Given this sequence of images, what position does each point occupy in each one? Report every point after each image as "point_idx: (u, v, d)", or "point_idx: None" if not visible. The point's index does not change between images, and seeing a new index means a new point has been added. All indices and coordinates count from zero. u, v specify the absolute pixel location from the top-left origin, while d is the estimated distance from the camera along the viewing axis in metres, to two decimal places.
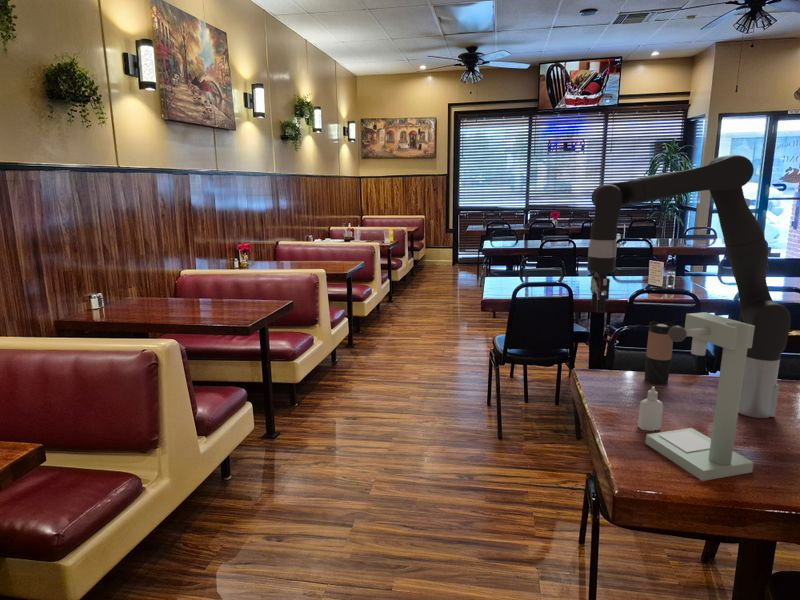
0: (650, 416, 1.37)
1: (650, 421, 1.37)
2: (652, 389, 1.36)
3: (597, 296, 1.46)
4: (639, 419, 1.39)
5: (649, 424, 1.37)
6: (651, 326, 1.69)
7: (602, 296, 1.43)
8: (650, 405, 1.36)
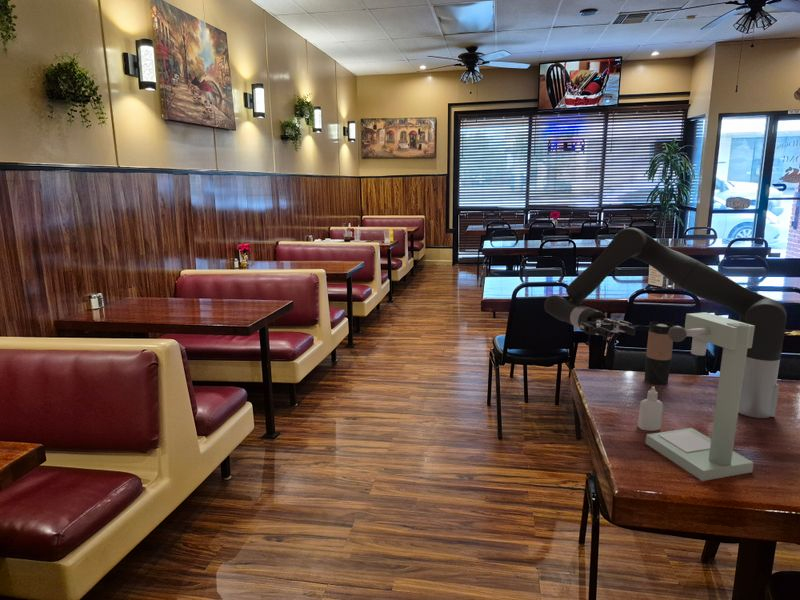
0: (650, 416, 1.37)
1: (650, 421, 1.37)
2: (652, 389, 1.36)
3: None
4: (639, 419, 1.39)
5: (649, 424, 1.37)
6: (651, 326, 1.69)
7: (588, 331, 1.49)
8: (650, 405, 1.36)
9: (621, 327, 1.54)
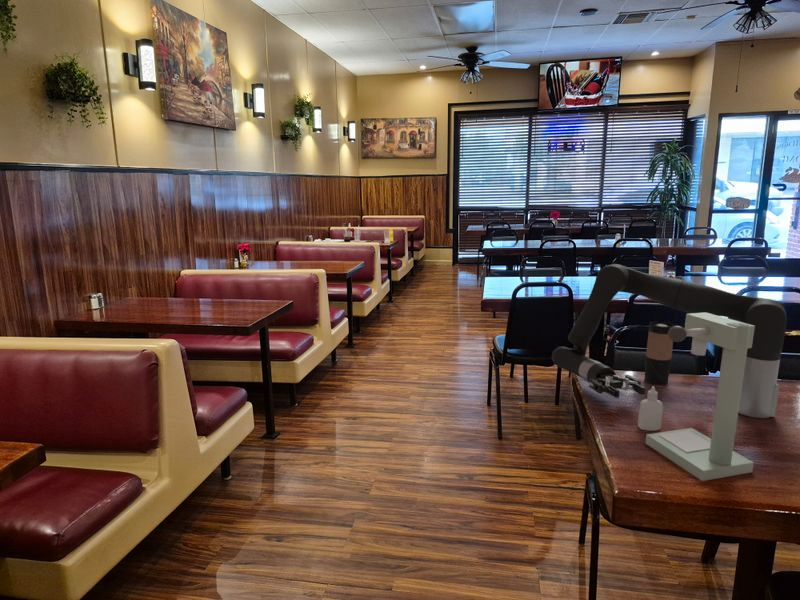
0: (650, 416, 1.37)
1: (650, 421, 1.37)
2: (652, 389, 1.36)
3: None
4: (639, 419, 1.39)
5: (649, 424, 1.37)
6: (651, 326, 1.69)
7: (598, 390, 1.49)
8: (650, 405, 1.36)
9: (630, 384, 1.54)
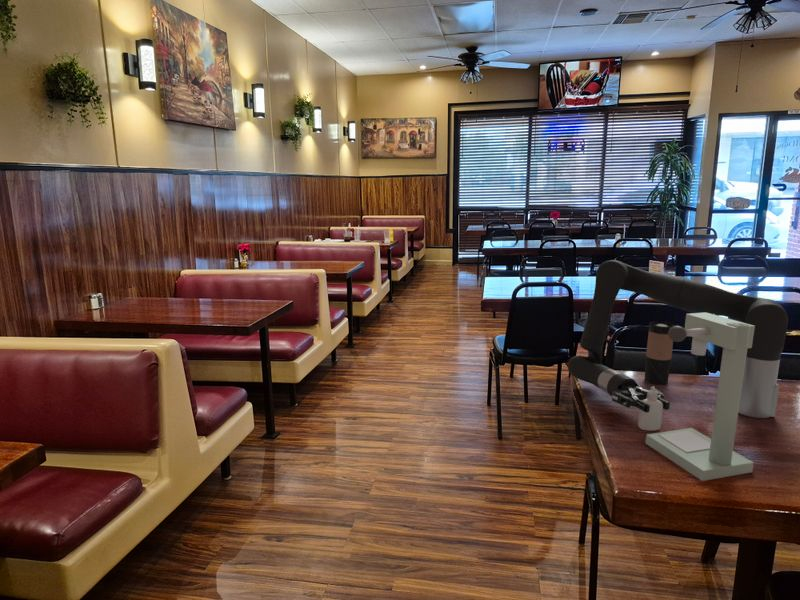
0: (650, 416, 1.37)
1: (650, 421, 1.37)
2: (652, 389, 1.36)
3: None
4: (639, 419, 1.39)
5: (649, 424, 1.37)
6: (651, 326, 1.69)
7: (626, 404, 1.39)
8: (650, 405, 1.36)
9: None
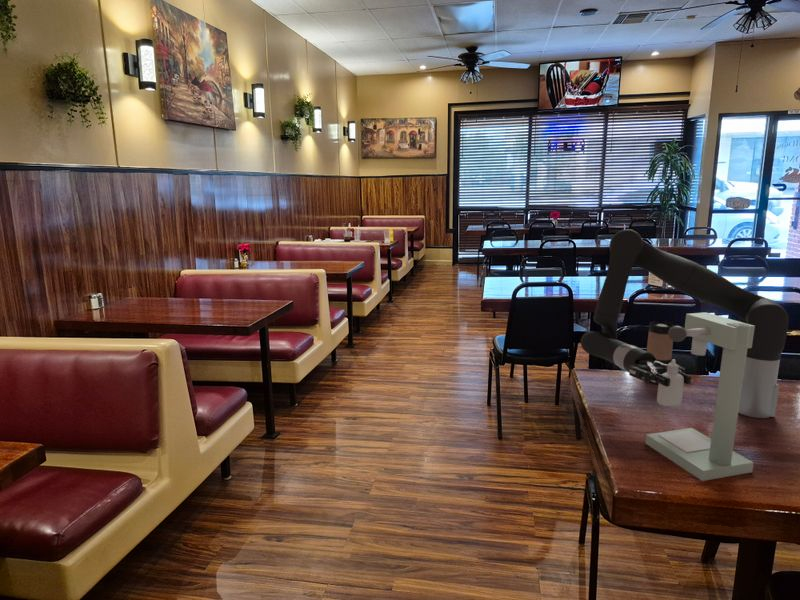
0: (670, 391, 1.29)
1: (670, 396, 1.29)
2: (672, 362, 1.29)
3: None
4: (658, 394, 1.31)
5: (669, 399, 1.29)
6: (651, 326, 1.69)
7: (644, 378, 1.31)
8: (670, 379, 1.28)
9: None
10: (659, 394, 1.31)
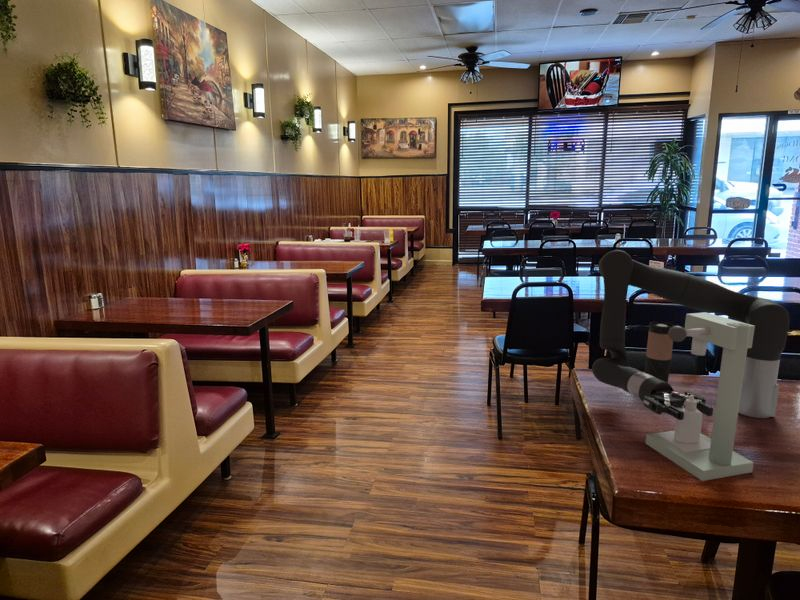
0: (689, 428, 1.24)
1: (688, 433, 1.24)
2: (691, 398, 1.24)
3: None
4: (676, 430, 1.26)
5: (687, 436, 1.24)
6: (651, 326, 1.69)
7: (656, 410, 1.26)
8: (688, 415, 1.23)
9: None
10: (676, 431, 1.25)
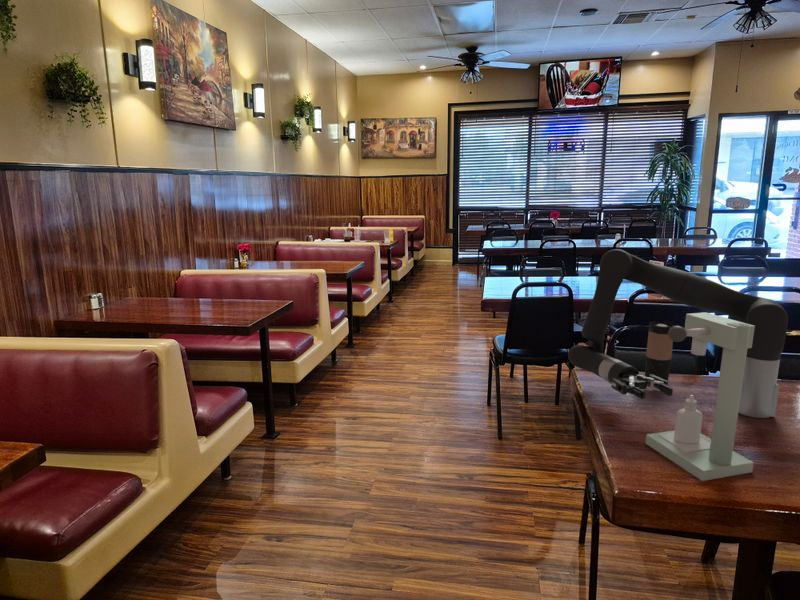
0: (689, 428, 1.24)
1: (688, 433, 1.24)
2: (691, 398, 1.24)
3: None
4: (676, 431, 1.26)
5: (687, 436, 1.24)
6: (651, 326, 1.69)
7: (622, 390, 1.38)
8: (688, 415, 1.23)
9: (655, 384, 1.44)
10: (676, 431, 1.25)
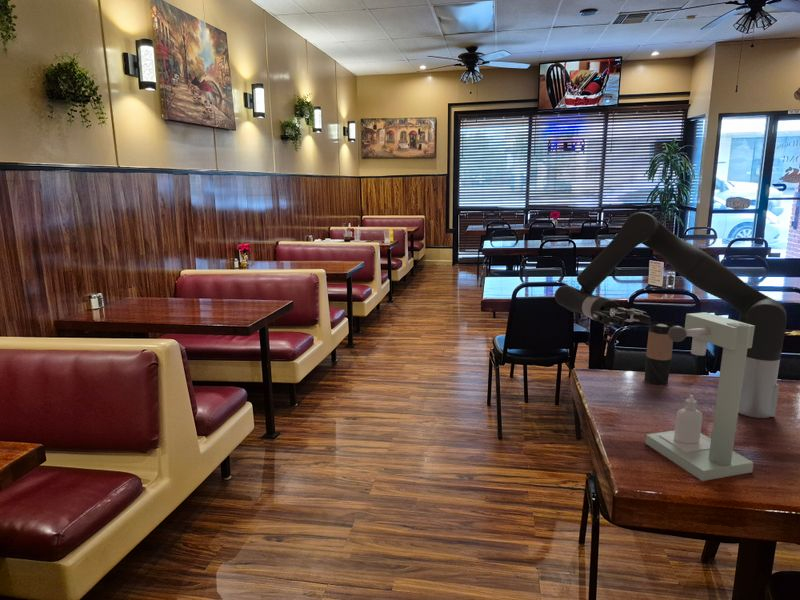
0: (689, 428, 1.24)
1: (688, 433, 1.24)
2: (691, 398, 1.24)
3: None
4: (676, 431, 1.26)
5: (687, 436, 1.24)
6: (651, 326, 1.69)
7: (602, 320, 1.45)
8: (688, 415, 1.23)
9: (635, 316, 1.50)
10: (676, 431, 1.25)
